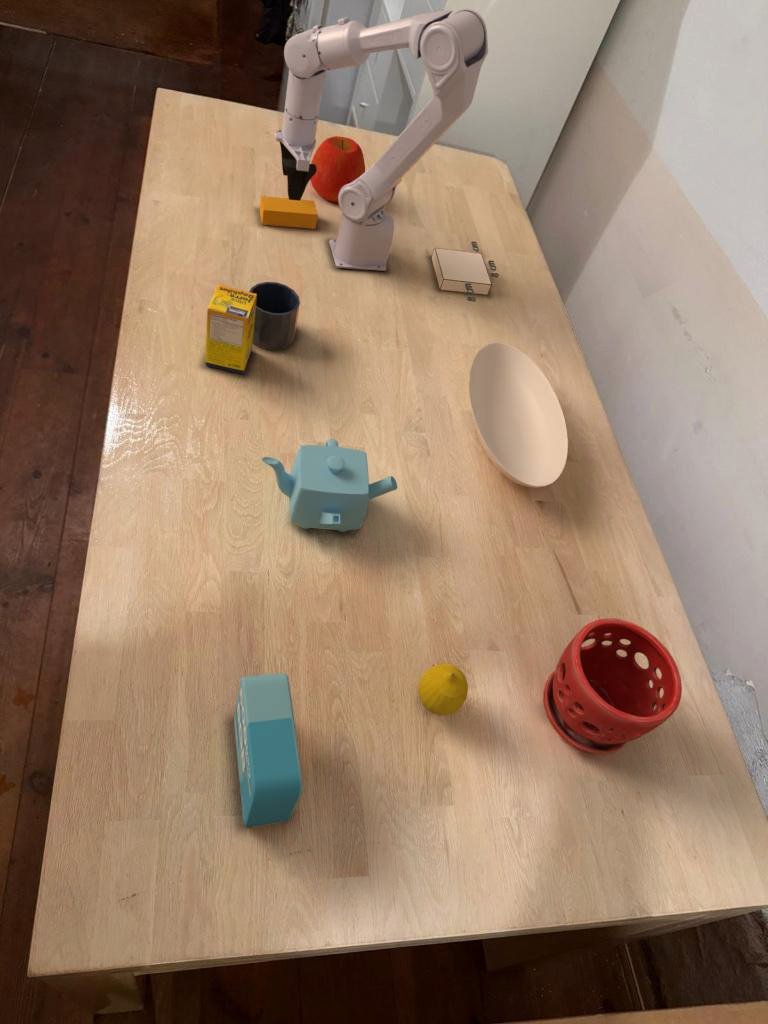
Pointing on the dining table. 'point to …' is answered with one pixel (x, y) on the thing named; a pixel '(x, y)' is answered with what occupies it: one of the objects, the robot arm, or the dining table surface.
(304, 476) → the teapot
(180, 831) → the dining table surface
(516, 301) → the dining table surface
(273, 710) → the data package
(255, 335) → the cup
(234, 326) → the supplement box
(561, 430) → the bowl
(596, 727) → the flower pot
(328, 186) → the apple
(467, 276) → the container
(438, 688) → the fruit
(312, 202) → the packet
